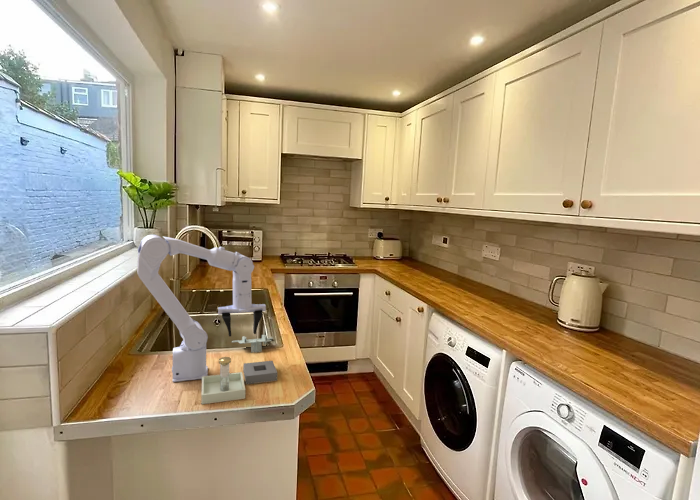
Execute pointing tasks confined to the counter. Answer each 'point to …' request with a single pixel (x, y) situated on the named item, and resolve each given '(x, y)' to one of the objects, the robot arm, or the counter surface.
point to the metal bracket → (254, 343)
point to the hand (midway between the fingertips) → (242, 334)
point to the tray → (214, 394)
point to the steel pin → (224, 373)
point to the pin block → (259, 372)
